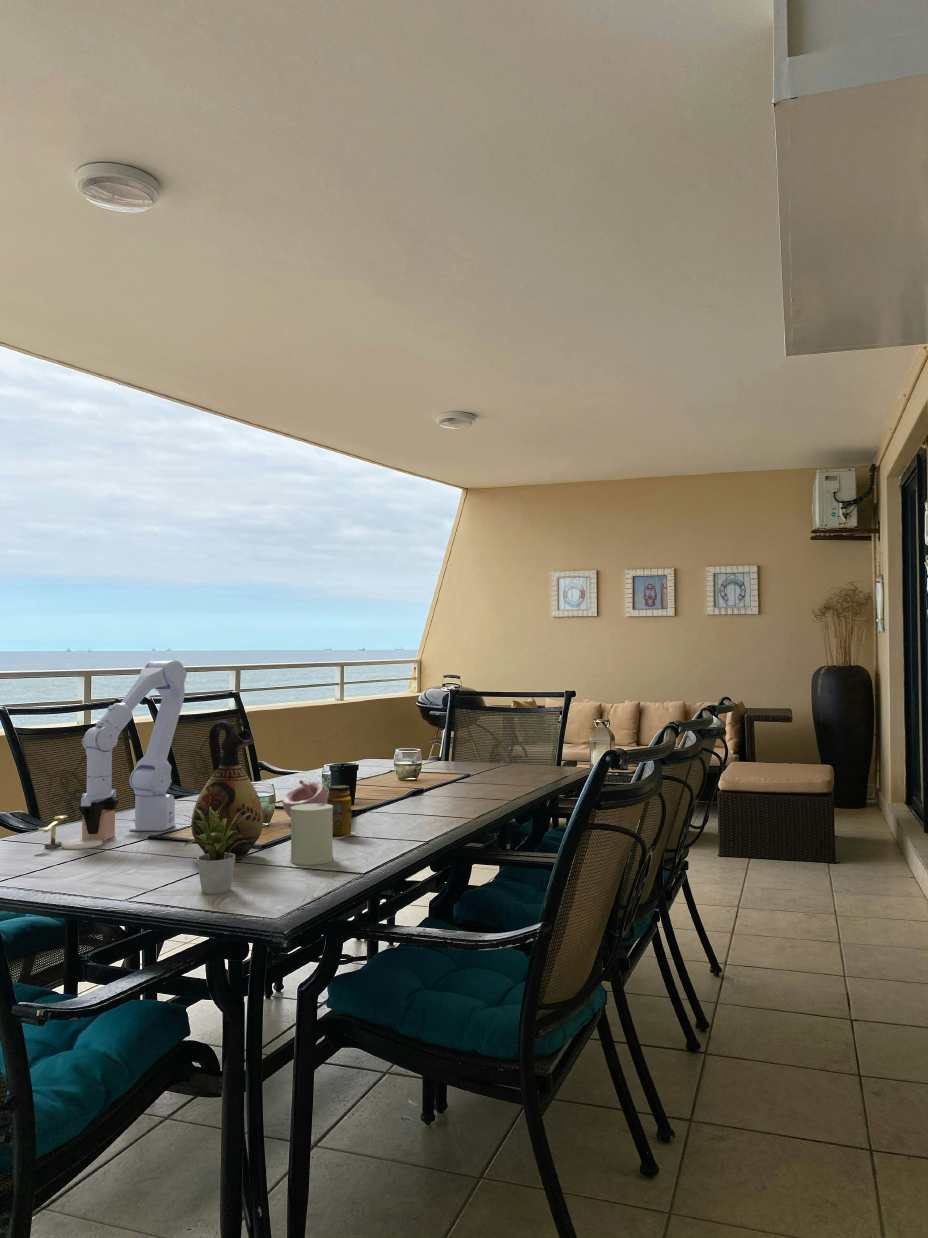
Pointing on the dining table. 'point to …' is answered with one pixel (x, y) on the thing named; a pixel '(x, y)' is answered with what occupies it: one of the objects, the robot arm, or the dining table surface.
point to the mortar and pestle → (305, 795)
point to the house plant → (215, 853)
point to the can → (311, 834)
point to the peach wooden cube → (102, 826)
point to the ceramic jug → (230, 792)
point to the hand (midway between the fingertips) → (98, 831)
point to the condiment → (340, 811)
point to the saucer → (82, 843)
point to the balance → (53, 832)
